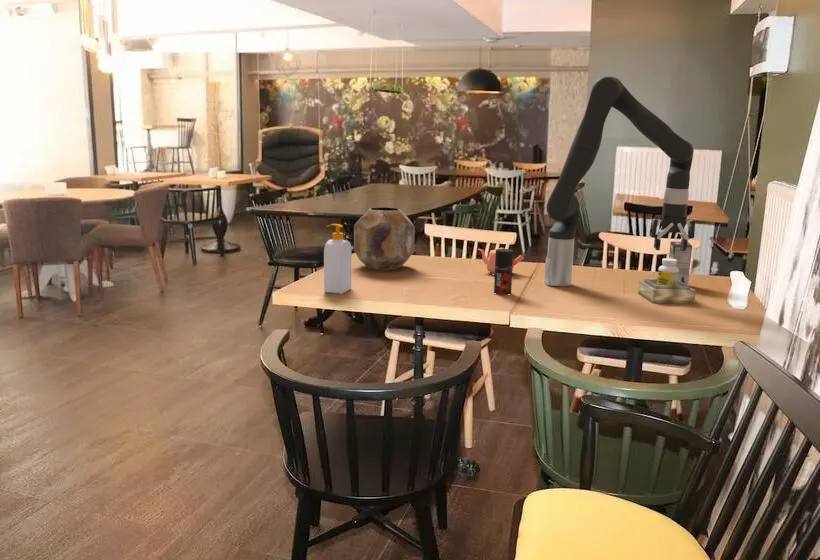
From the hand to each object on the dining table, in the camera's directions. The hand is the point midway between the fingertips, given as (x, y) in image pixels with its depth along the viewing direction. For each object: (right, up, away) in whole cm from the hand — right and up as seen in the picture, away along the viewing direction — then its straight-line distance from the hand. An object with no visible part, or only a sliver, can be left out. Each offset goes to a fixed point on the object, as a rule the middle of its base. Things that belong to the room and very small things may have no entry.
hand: (669, 250), depth 228 cm
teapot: (-52, -8, +41) cm, 66 cm away
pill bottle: (0, -15, +3) cm, 15 cm away
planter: (-98, -5, +48) cm, 109 cm away
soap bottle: (-112, -14, +5) cm, 113 cm away
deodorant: (-55, -15, +6) cm, 58 cm away
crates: (0, -16, +3) cm, 17 cm away
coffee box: (+11, -12, +23) cm, 28 cm away
